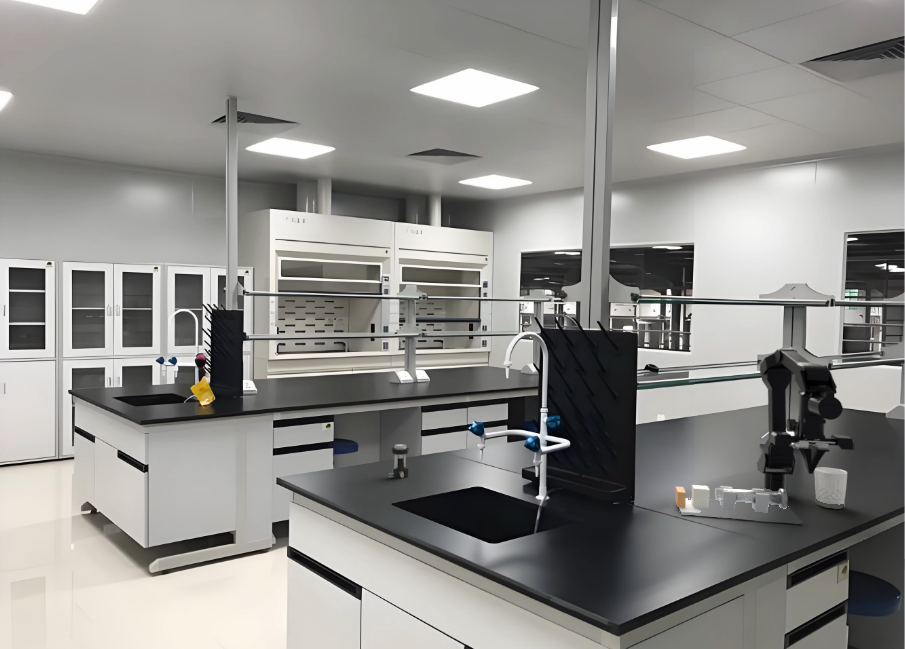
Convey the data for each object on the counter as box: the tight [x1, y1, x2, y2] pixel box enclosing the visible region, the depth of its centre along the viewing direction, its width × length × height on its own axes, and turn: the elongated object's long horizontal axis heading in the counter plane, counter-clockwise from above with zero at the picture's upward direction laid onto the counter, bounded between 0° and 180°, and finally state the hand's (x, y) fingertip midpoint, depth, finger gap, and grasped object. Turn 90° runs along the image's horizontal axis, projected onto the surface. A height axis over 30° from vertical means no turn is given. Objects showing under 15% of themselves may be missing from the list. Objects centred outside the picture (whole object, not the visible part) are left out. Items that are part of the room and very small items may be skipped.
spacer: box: [690, 484, 711, 508], centre depth 180 cm, size 4×4×5 cm
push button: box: [388, 443, 410, 479], centre depth 208 cm, size 7×5×10 cm
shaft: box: [714, 487, 789, 509], centre depth 177 cm, size 5×17×5 cm, turn 77°
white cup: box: [814, 466, 848, 505], centre depth 185 cm, size 8×8×10 cm
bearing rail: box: [674, 485, 770, 513], centre depth 178 cm, size 14×30×6 cm, turn 77°
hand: (810, 473), depth 174 cm, fingers closed
